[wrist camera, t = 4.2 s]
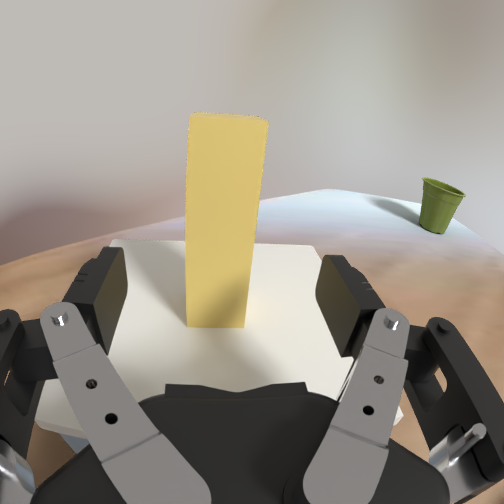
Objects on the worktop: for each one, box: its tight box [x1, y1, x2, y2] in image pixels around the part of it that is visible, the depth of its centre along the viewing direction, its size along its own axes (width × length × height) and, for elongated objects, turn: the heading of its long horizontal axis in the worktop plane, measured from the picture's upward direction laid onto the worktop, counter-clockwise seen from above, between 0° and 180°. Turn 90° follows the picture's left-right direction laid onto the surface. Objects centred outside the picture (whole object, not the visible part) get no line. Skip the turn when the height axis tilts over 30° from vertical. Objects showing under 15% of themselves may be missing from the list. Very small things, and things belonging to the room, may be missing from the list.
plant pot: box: [419, 178, 466, 234], centre depth 63 cm, size 12×12×11 cm
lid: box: [34, 112, 403, 439], centre depth 17 cm, size 19×19×13 cm
